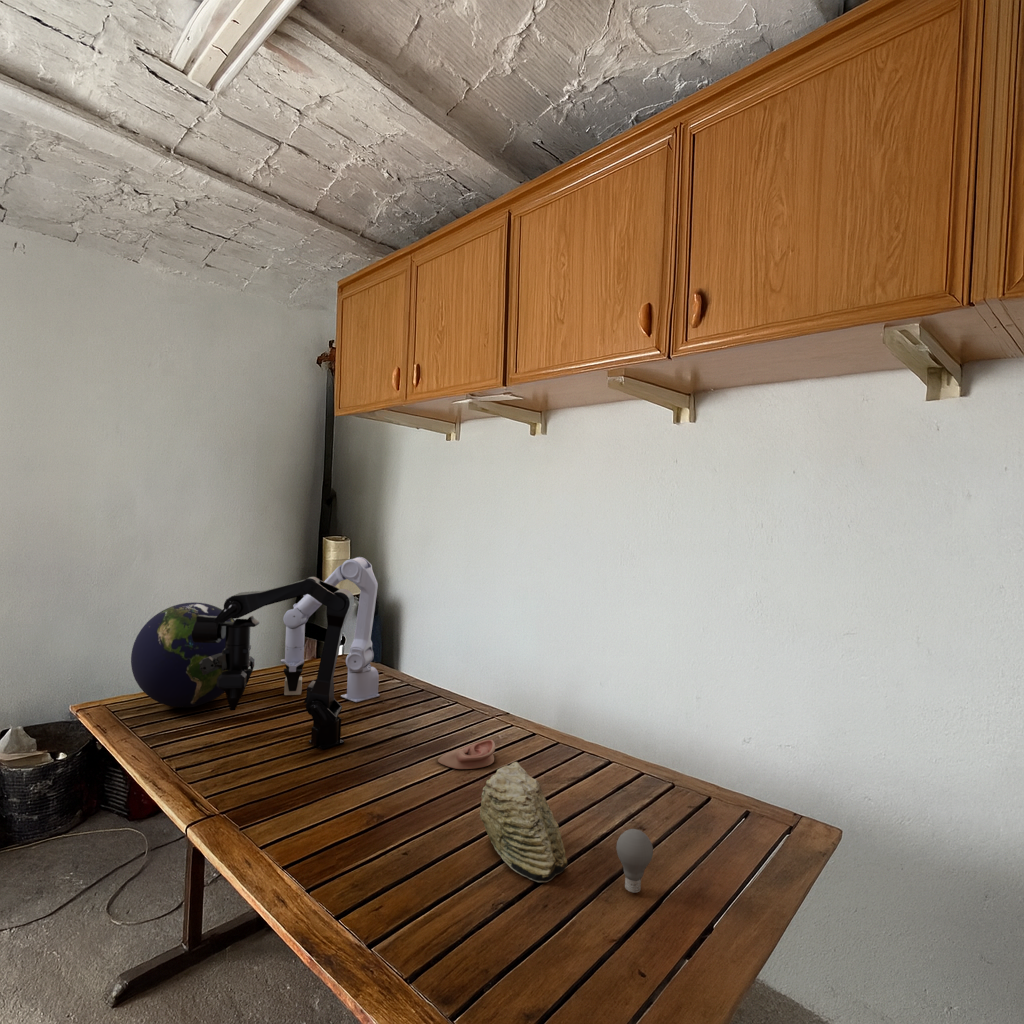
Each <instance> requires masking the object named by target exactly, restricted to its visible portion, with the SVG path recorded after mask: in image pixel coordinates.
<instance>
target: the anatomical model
mask: <svg viewBox="0 0 1024 1024" xmlns="http://www.w3.org/2000/svg"><path fill="white" fill-rule="evenodd" d="M495 751H496V743H495V741H494V740H493V739H484V740H481V741H478V742H475V743H472V744H470V745H467V746H465V747H461V748H458V749H454V750H451V751H448V752H445V753H444V754H443V755H441V756H440V757H439V758H438V759H437V762H438V763H439V764H441V765H442V766H445V767H449V768H451V769H456V770H472V769H480V768H484V767H487V766H490V765H492V764H493V763H494V762H495V756H494V753H495Z"/></svg>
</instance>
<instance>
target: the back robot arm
mask: <svg viewBox="0 0 1024 1024" xmlns="http://www.w3.org/2000/svg"><path fill="white" fill-rule="evenodd" d="M346 580H347V581H350V582H351V583H353V584H355V586H356V588H358V589H359V590H360V591H359V600H358V607H357V612H356V613H357V615H356V621H355V628H354V635H353V640H352V642H351V645H350V648H349V652H348V654H347V656H346V657H345V665H346V667H347V679H346V680H347V682H346V693H344V694H341V695H340V698H343V699H345V700H347V701H351V702H354V703H359V702H364V701H368V700H370V699H371V700H372V699H374V698H378V697H380V696H381V694H379V685H380V684H379V683H380V675H379V674H380V673H379V671H378V669H377V668H376V667H374V666H372V664H371V662H372V661H373V660H374V656H375V652H374V650H373V641H372V632H373V631H372V630H373V625H374V616H375V611H376V604H377V603H376V602H377V595H378V588H379V583H378V580H377V578H376V576H375V573H374V571H373V565H372V563H371V562H369V561H368V559H366V558H365V557H362V556H356V557H354V558H349V559H346V560H345V561H343V562H342V564H340V565H338V566H337V567H336V568H335V569H334V570H333V571H332V572H331V574H329V575H328V577H327V578H326V579H325V580H323V582H325V583H328V584H330V585H333V586H335V587H337V586H338V585H339V584H340V583H341V582H343V581H346ZM302 596H303V597H302V598H301V599H300V600H299V601H298V602H297V603H294V604H293V605H292V607H293V608H291V609H288V610H286V612H285V613H284V615H283V617H282V618H283V620H282V621H283V623H284V625H285V642H284V645H285V646H284V648H285V649H284V658H282V659H280V664H285V665H284V666H285V668H283V674H284V675H285V678H287V682H288V688H289V691H296V689H297V685H298V680H299V677H301V674H303V673H302V672H303V670H304V669H303V667H304V666H305V639H306V637H305V635H306V634H305V633H306V624H307V622H308V621H309V618H310V617H311V616H312V615H313V614H314V613H315V612H316V611H317V610H318V609H319V608H320V607H321V606H322V605H323V604H322V603H320V602H319V601H317V600H316V599H315V598H313V597H312V596H310V595H309V594H306V595H302Z"/></svg>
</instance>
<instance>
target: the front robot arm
mask: <svg viewBox="0 0 1024 1024" xmlns="http://www.w3.org/2000/svg"><path fill="white" fill-rule="evenodd" d="M306 594H309V595H310V596H312V597H313V598H315V599H316V600H317V601H319V602H320V603H322V605H323V606H325V607H326V615H325V616H326V624H327V625H326V626H327V627H326V631H325V635H324V640H323V646H322V651H321V656H320V661H319V666H318V671H317V675H316V679H315V680H312V681H311V682H310V683H309V684H308V685H307V687H306V696H305V699H304V701H303V704H305V711H306V712H307V713H308V715H310V716H311V718H312V722H313V723H312V727H311V730H310V731H311V732H310V733H311V735H310V739H309V740H308V743H309V744H310V745H313V746H314V747H316V748H318V749H320V750H327V749H329V748H333V747H336V746H340V745H343V744H344V743H345V741H344V740H343V739H341V737H342V735H341V733H342V717H340V716H339V715H340V714H341V711H342V710H343V706H342V705H341V704H340V703H339V701H337V699H336V698H335V683H334V682H335V681H334V677H335V671H336V666H337V662H338V657H339V651H340V647H341V642H342V637H343V632H344V627H345V624H346V622H347V620H348V618H349V615H350V614H351V610H352V608H353V606H354V603H355V597H354V594H353V593H352V592H351V591H350V590H349V589H346V588H338V587H337V586H333V585H330V584H328V583H325V582H324V580H321V579H320V578H318V577H317V576H309V577H307V578H306V579H302V580H297V581H295V582H291V583H287V584H284V585H283V584H282V585H280V586H276V587H273V588H269V589H265V590H252V591H242V592H237V593H236V594H233V595H231V596H229V597H227V598H226V599H225V601H224V604H223V609H222V611H221V612H220V614H219V615H218V616H207V615H199V616H197V617H196V622H195V624H194V627H193V630H192V639H193V641H194V642H201V643H219V642H220V641H221V639H224V638H225V635H226V641H225V649H224V650H223V651H222V653H218V654H216V655H213V656H209V657H207V658H204V659H202V660H201V661H200V663H199V665H200V668H199V669H200V670H201V671H202V673H203V675H206V674H208V673H209V672H212V671H215V670H217V669H220V668H221V671H223V672H222V673H221V674H220V675H219V677H218V678H217V687H219V688H220V689H222V690H224V691H225V692H224V693H225V696H226V700H227V704H228V708H229V711H231V712H235V711H236V709H237V706H238V705H239V702H240V700H241V699H242V696H243V694H244V692H245V690H246V687H247V685H248V683H249V680H250V678H251V676H252V674H253V671H254V668H255V661H256V659H255V658H254V657H252V656H251V655H250V652H251V649H252V644H251V628H256V627H257V626H259V624H260V621H259V620H258V619H256V618H255V616H254V615H250V616H249V617H248V618H242V617H244V616H246V615H249V614H251V613H253V612H255V611H257V610H259V609H261V608H263V607H267V606H270V605H273V604H277V603H280V602H285V601H287V600H291V599H295V598H299V597H302V596H303V595H306ZM231 618H233V619H234V620H235V621H234V622H225V621H227V620H229V619H231ZM226 670H228V671H226Z"/></svg>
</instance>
